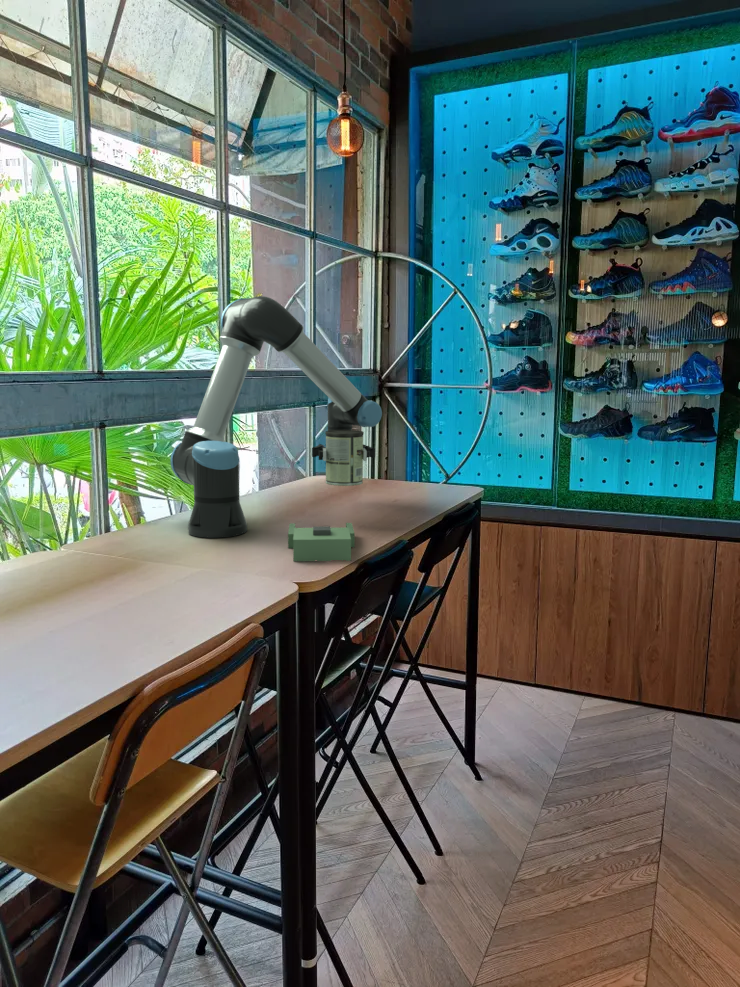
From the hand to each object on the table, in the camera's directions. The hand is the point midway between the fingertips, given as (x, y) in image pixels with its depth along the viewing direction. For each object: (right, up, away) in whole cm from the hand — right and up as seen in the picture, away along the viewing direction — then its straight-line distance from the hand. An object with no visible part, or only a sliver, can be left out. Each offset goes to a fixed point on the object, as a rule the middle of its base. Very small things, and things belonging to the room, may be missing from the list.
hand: (345, 455), depth 196 cm
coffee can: (-1, -7, +6) cm, 9 cm away
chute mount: (-5, -23, -17) cm, 29 cm away
